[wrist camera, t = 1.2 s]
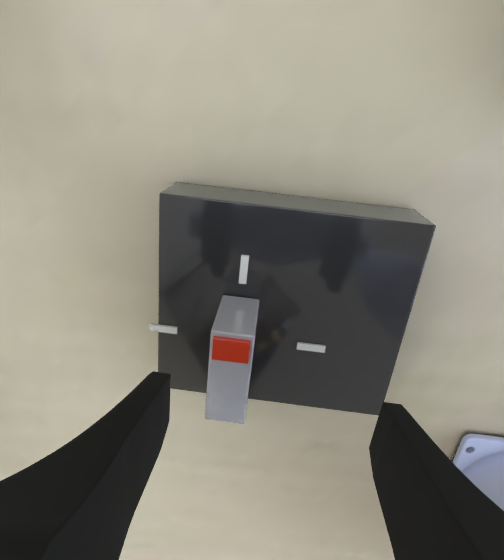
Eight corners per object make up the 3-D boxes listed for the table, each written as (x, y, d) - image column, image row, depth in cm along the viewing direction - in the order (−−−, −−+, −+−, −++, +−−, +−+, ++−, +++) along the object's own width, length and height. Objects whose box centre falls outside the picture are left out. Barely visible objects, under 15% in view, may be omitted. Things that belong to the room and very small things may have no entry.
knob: (250, 377, 21) (244, 429, 17) (216, 372, 21) (203, 423, 17) (259, 298, 19) (255, 339, 15) (222, 294, 19) (209, 333, 16)
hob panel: (366, 389, 24) (377, 427, 21) (165, 363, 24) (149, 397, 22) (415, 209, 20) (437, 226, 17) (168, 180, 20) (148, 192, 17)
